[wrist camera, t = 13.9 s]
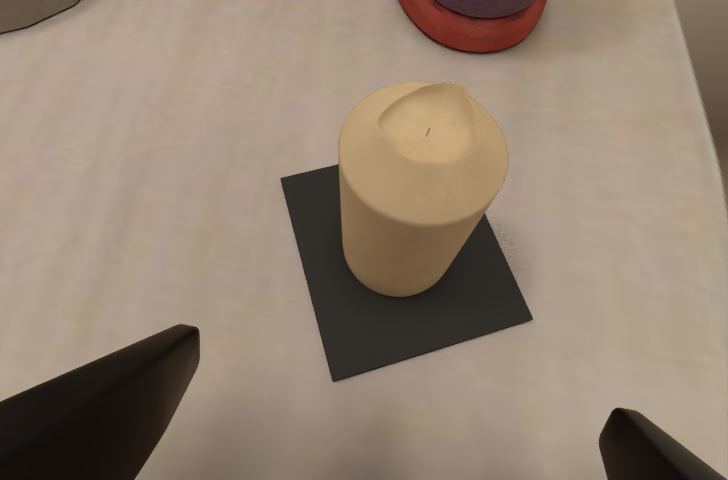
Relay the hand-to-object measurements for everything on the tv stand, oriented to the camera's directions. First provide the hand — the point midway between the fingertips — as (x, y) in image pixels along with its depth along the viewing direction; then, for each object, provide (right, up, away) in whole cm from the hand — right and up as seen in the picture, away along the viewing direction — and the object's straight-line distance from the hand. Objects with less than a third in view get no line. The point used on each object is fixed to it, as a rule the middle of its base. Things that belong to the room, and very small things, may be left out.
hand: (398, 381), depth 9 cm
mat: (+1, +3, +13) cm, 13 cm away
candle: (+1, +3, +12) cm, 13 cm away
